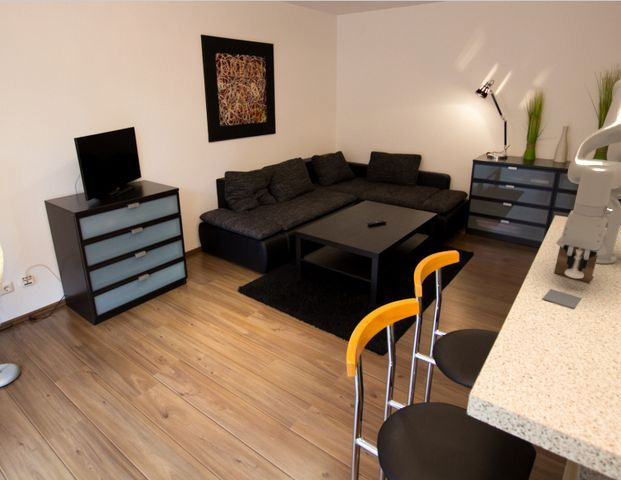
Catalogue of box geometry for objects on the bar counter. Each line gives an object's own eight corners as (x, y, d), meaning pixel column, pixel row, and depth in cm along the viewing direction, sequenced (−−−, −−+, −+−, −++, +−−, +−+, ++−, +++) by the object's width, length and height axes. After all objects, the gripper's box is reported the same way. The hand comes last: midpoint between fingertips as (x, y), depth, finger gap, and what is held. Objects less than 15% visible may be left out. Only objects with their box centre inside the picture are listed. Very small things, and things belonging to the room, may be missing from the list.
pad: (550, 290, 122) (550, 289, 122) (581, 299, 117) (581, 297, 117) (542, 299, 117) (542, 298, 117) (574, 309, 112) (574, 308, 112)
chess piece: (586, 279, 120) (594, 247, 116) (568, 277, 121) (575, 246, 117) (579, 271, 124) (587, 241, 121) (562, 270, 125) (568, 240, 121)
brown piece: (558, 269, 136) (565, 235, 132) (593, 278, 130) (602, 243, 126) (553, 274, 133) (561, 239, 129) (589, 283, 126) (598, 247, 122)
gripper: (626, 211, 112) (610, 271, 119) (561, 201, 122) (549, 257, 129) (621, 218, 107) (604, 281, 114) (554, 207, 118) (542, 265, 124)
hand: (575, 268), depth 122 cm, fingers closed on chess piece
